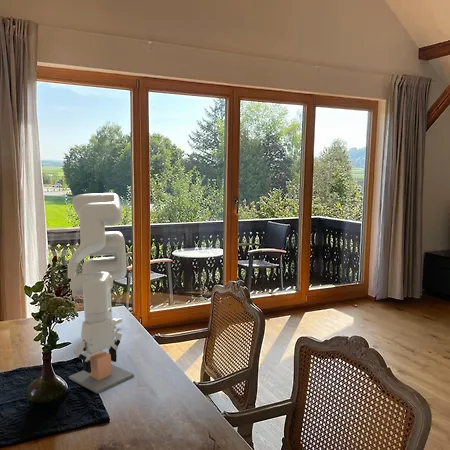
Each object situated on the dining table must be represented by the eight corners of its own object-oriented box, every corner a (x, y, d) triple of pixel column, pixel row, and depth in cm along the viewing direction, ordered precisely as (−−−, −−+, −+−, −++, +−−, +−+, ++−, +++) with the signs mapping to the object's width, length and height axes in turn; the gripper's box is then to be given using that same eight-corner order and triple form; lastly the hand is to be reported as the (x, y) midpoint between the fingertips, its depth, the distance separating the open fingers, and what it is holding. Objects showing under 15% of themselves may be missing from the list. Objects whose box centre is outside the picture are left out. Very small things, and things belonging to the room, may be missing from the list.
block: (103, 370, 151) (101, 350, 150) (112, 374, 148) (110, 354, 147) (90, 375, 147) (88, 355, 146) (98, 380, 144) (97, 359, 143)
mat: (105, 363, 158) (105, 361, 158) (133, 376, 148) (133, 373, 148) (68, 378, 148) (68, 376, 148) (97, 393, 137) (97, 391, 137)
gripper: (112, 306, 154) (115, 354, 156) (66, 321, 141) (70, 372, 143) (126, 310, 149) (129, 359, 151) (79, 326, 136) (83, 379, 138)
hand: (100, 366), depth 147 cm, fingers open, 9 cm apart
